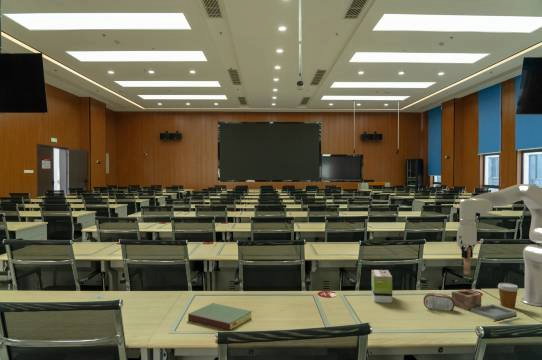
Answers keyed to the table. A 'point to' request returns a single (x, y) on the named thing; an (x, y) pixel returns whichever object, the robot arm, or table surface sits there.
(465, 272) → the dowel
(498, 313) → the tray
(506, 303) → the disposable coffee cup
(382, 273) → the tea box
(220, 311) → the hardcover book
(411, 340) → the table surface
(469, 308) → the socket block
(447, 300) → the tin
